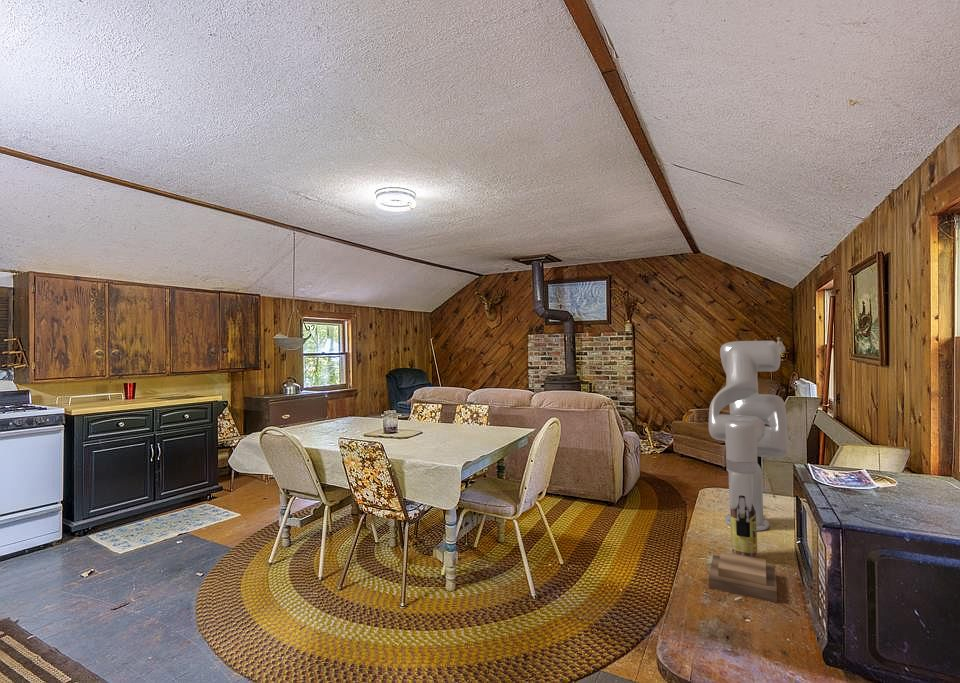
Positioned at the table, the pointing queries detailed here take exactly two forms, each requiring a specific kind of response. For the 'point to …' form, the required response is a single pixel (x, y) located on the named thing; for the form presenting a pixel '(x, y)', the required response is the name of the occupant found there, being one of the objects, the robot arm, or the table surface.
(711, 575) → the pedestal
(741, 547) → the sauce bottle
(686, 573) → the table surface
